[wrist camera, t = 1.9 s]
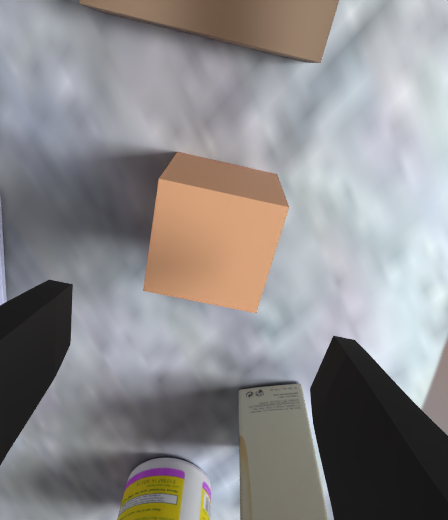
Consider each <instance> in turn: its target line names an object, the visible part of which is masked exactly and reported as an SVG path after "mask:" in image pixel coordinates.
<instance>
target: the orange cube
mask: <svg viewBox="0 0 448 520" xmlns="http://www.w3.org/2000/svg"><path fill="white" fill-rule="evenodd" d="M288 209H289V206H288V203H287V200H286V197H285V195H284V192H283V189H282V186H281V184H280V181H279V178H278V175H277V174H274V173H269V172H265V171H260V170H256V169H251V168H247V167H243V166H238V165H234V164H229V163H225V162H220V161H216V160H212V159H207V158H203V157H198V156H194V155H189V154H185V153H181V152H177V153H176V155H175V156H174V158H173V159H172V160H171V162H170V163H169V165H168V166H167V168H166V169H165V171H164V172H163V173H162V175H161V176H160V178H159V181H158V188H157V196H156V203H155V210H154V217H153V224H152V231H151V239H150V246H149V253H148V260H147V267H146V274H145V282H144V289H143V291H147V292H152V293H157V294H162V295H167V296H172V297H177V298H182V299H187V300H192V301H197V302H202V303H208V304H213V305H218V306H223V307H228V308H233V309H238V310H243V311H248V312H253V313H256V312H257V309H258V306H259V303H260V299H261V296H262V293H263V290H264V286H265V283H266V280H267V277H268V274H269V270H270V267H271V264H272V261H273V258H274V254H275V251H276V248H277V245H278V241H279V238H280V235H281V232H282V229H283V225H284V222H285V219H286V216H287V212H288Z"/></svg>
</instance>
